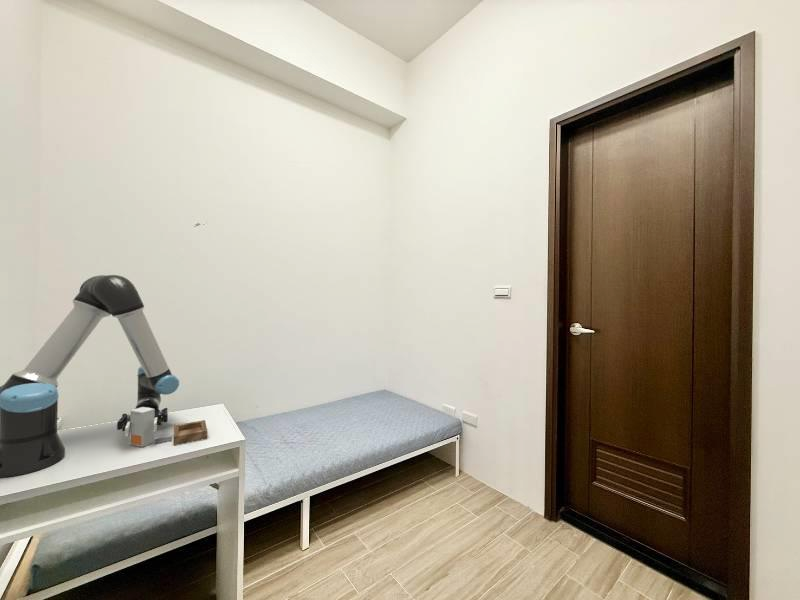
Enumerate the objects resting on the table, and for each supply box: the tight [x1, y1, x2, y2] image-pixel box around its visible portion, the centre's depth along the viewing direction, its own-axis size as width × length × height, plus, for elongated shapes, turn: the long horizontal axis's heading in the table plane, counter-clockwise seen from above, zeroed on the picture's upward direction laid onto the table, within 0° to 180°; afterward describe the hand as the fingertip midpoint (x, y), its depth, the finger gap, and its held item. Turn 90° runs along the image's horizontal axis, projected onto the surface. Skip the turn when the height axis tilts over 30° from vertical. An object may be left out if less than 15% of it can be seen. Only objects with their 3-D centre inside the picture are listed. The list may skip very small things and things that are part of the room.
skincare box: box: [129, 407, 155, 448], centre depth 112 cm, size 6×4×12 cm
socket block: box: [172, 419, 208, 446], centre depth 119 cm, size 10×12×3 cm
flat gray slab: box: [153, 435, 173, 445], centre depth 115 cm, size 5×4×1 cm
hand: (141, 429), depth 108 cm, fingers closed on skincare box, 7 cm apart
